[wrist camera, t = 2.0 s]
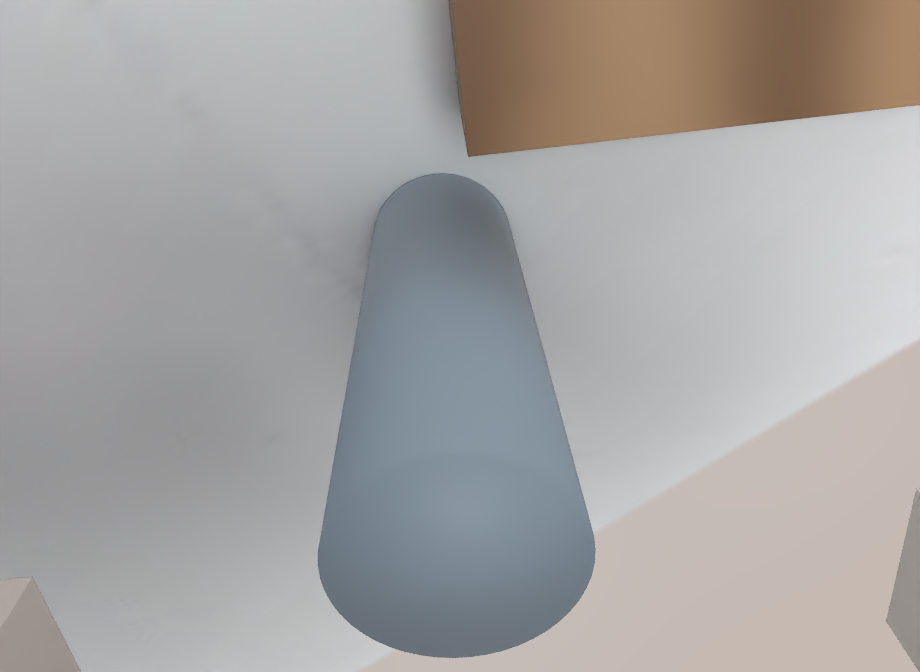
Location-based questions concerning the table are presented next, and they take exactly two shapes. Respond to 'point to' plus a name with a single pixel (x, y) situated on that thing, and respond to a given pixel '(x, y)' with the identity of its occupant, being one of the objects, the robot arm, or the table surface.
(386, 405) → the peg
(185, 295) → the table surface
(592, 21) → the socket block
